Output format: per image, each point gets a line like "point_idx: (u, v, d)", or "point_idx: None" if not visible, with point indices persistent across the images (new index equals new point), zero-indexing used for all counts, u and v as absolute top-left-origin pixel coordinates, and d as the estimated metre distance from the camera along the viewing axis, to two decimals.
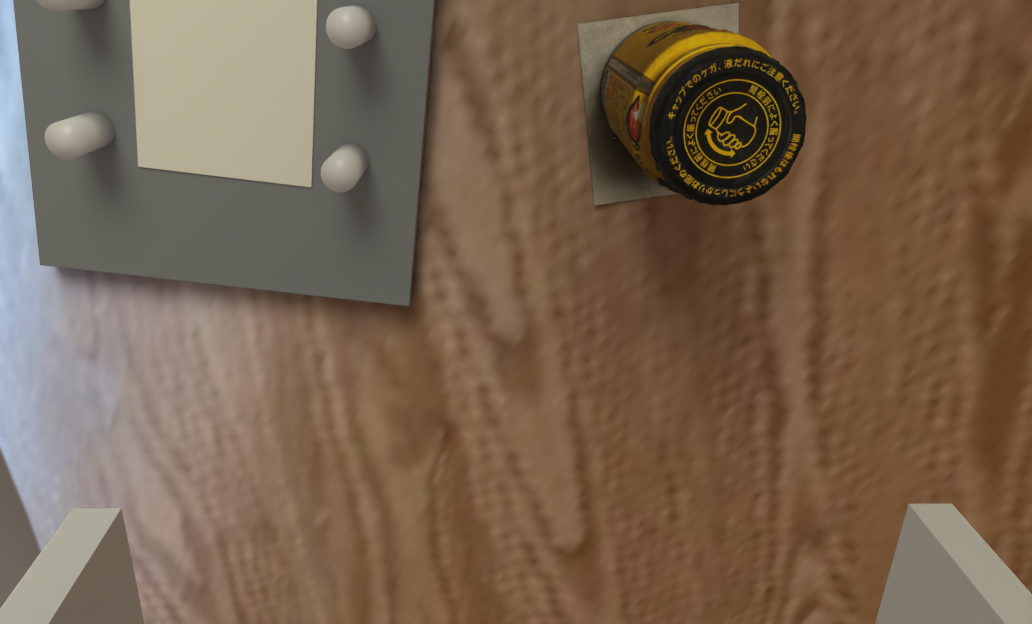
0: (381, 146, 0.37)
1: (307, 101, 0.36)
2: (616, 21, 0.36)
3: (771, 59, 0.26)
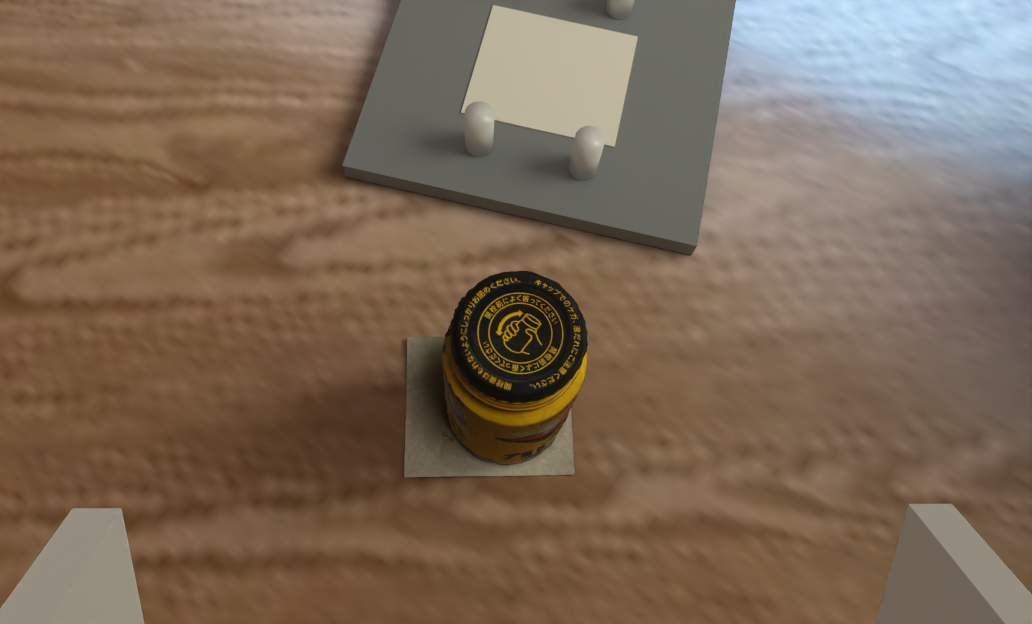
0: (487, 168, 0.45)
1: (529, 123, 0.46)
2: None
3: (576, 367, 0.30)
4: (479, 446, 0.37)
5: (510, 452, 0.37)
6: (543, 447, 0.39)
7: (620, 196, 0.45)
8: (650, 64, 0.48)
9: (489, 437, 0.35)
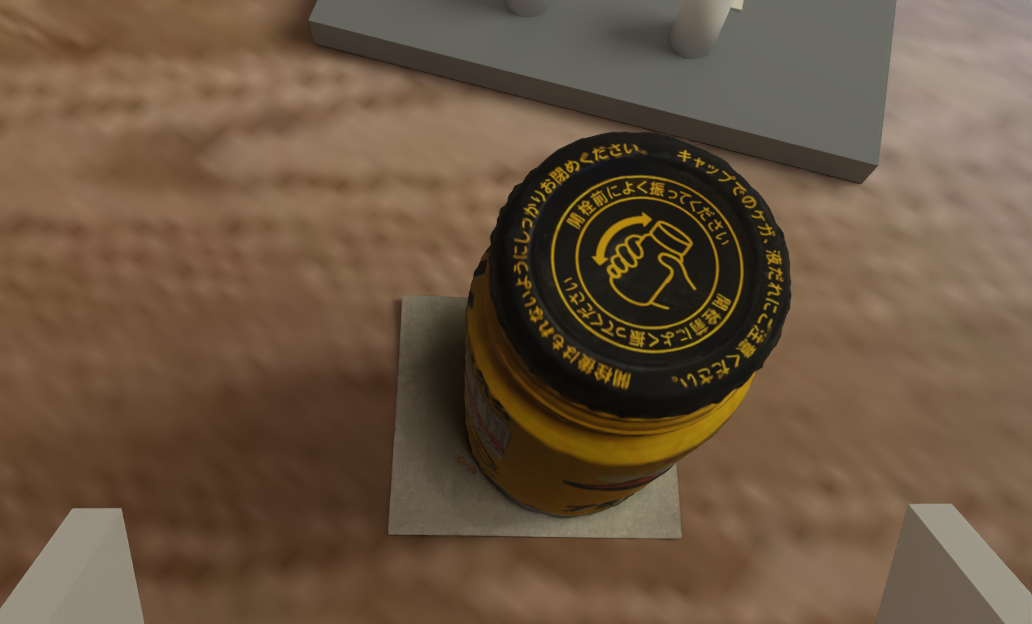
0: (540, 33, 0.28)
1: None
2: None
3: (774, 342, 0.13)
4: (524, 490, 0.20)
5: (581, 503, 0.20)
6: None
7: (752, 84, 0.28)
8: None
9: (551, 480, 0.18)
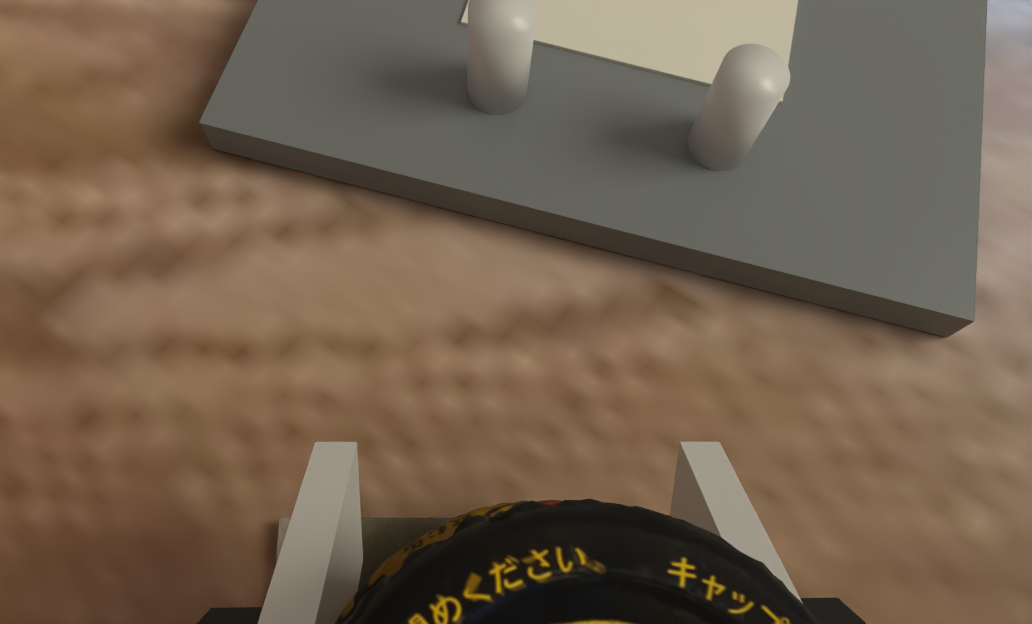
0: (513, 138, 0.21)
1: (602, 48, 0.22)
2: None
3: None
4: None
5: None
6: None
7: (800, 206, 0.21)
8: None
9: None
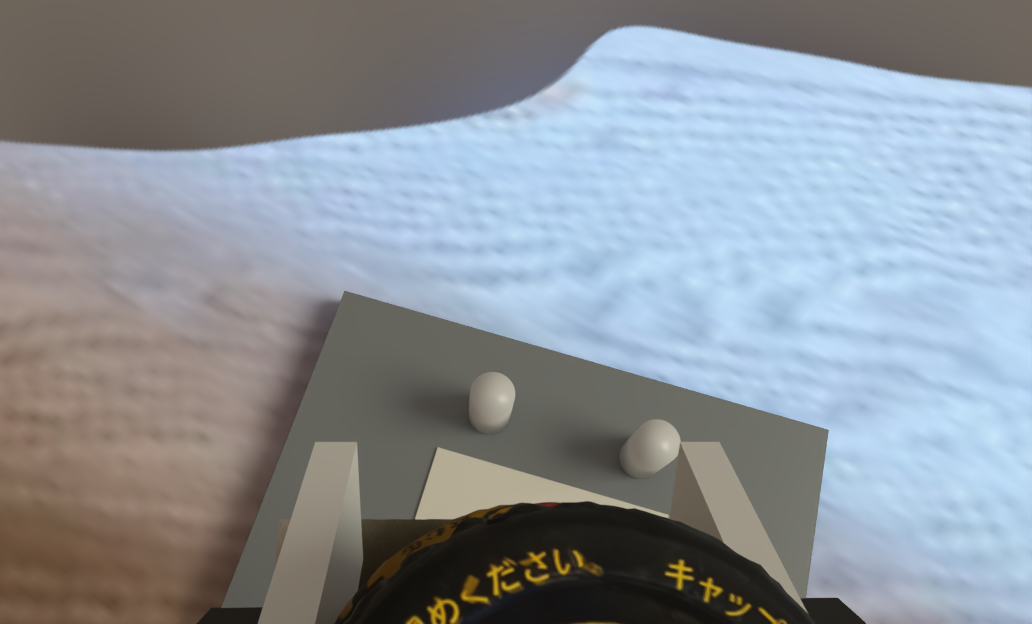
0: None
1: None
2: None
3: None
4: None
5: None
6: None
7: None
8: None
9: None
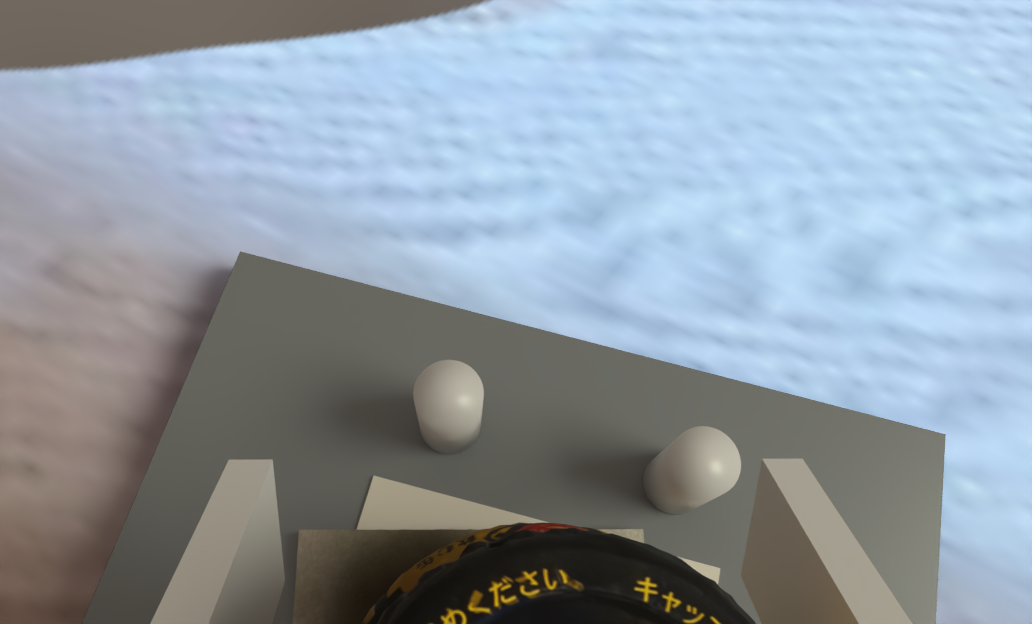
0: None
1: None
2: None
3: None
4: None
5: None
6: None
7: None
8: None
9: None
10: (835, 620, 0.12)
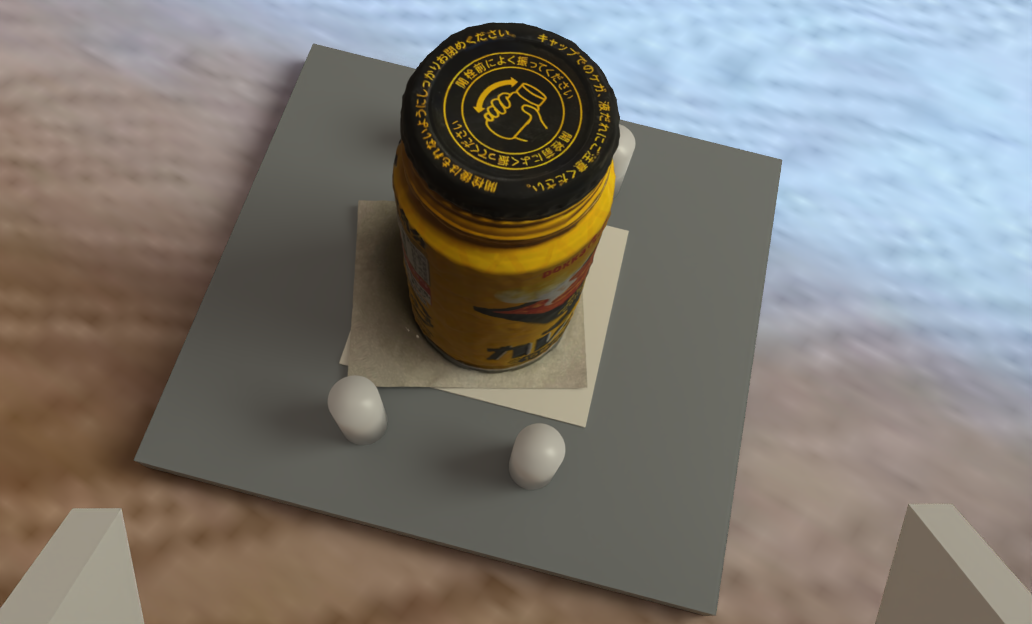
0: (374, 465, 0.27)
1: None
2: None
3: (603, 164, 0.19)
4: (452, 334, 0.26)
5: (497, 343, 0.26)
6: (544, 343, 0.27)
7: (591, 519, 0.27)
8: (647, 278, 0.31)
9: (464, 308, 0.23)
10: None
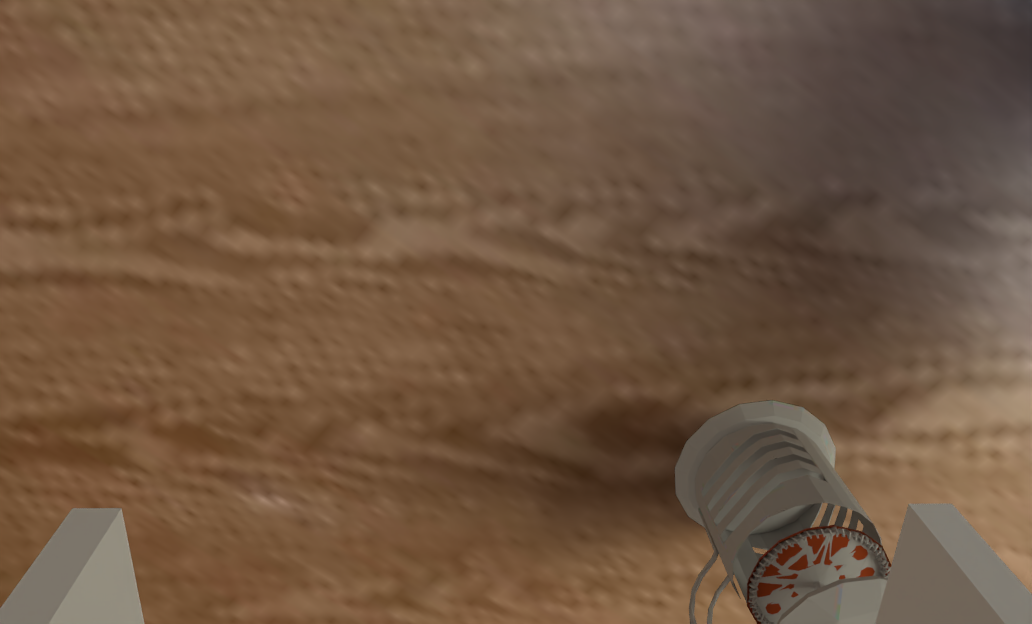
0: None
1: None
2: None
3: None
4: None
5: None
6: None
7: None
8: None
9: None
10: None
